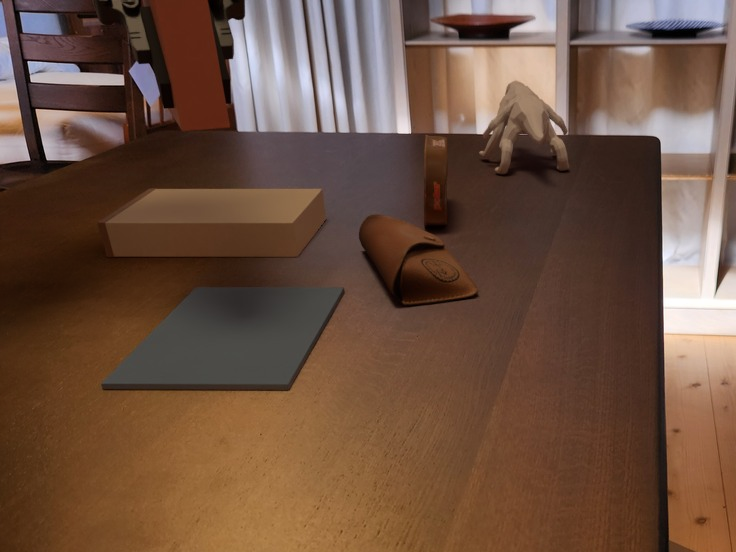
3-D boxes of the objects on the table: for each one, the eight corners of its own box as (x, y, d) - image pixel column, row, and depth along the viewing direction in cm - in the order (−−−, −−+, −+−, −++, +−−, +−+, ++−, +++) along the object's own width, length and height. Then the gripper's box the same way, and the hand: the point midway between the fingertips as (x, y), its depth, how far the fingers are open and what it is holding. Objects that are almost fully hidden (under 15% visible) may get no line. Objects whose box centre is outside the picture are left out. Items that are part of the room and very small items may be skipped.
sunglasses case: (485, 291, 81) (446, 231, 77) (424, 337, 81) (381, 280, 77) (436, 237, 95) (400, 184, 91) (384, 277, 95) (346, 226, 91)
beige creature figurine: (551, 147, 135) (551, 75, 129) (593, 187, 115) (596, 102, 109) (473, 151, 133) (470, 78, 128) (501, 192, 113) (499, 107, 107)
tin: (426, 200, 110) (421, 127, 105) (451, 200, 110) (447, 127, 105) (423, 236, 97) (417, 155, 92) (452, 235, 97) (447, 154, 93)
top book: (181, 132, 65) (148, -29, 59) (165, 106, 74) (135, -35, 69) (231, 128, 66) (203, -30, 61) (209, 103, 76) (183, -37, 70)
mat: (102, 389, 66) (100, 383, 65) (196, 292, 83) (195, 286, 83) (288, 390, 65) (287, 384, 65) (344, 292, 82) (344, 286, 82)
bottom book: (106, 257, 92) (97, 222, 90) (156, 220, 104) (149, 188, 102) (297, 257, 91) (292, 222, 89) (326, 220, 103) (322, 188, 101)
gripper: (234, -123, 76) (304, 117, 72) (21, -125, 70) (86, 135, 67) (232, -211, 69) (309, 51, 65) (-5, -220, 63) (66, 65, 60)
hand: (196, 93), depth 66 cm, fingers closed on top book, 3 cm apart
